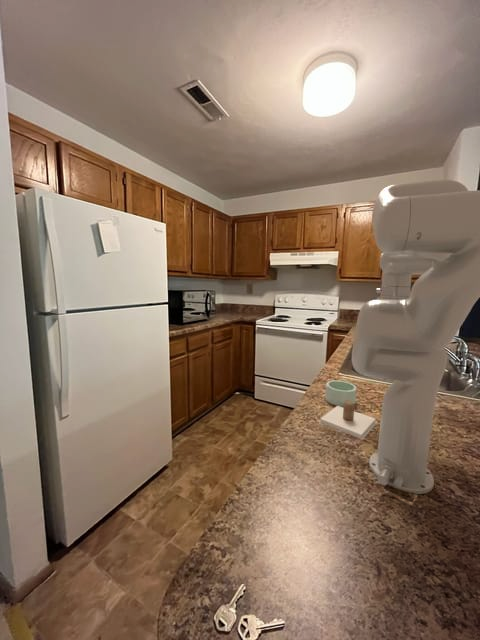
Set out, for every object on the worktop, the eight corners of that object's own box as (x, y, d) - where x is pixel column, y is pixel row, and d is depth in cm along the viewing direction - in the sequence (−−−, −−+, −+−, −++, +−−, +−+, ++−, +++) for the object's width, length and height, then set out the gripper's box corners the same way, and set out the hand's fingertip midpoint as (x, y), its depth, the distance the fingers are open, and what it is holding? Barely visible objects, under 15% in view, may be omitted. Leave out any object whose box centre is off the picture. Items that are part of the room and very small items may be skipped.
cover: (361, 438, 73) (362, 417, 72) (320, 421, 81) (321, 403, 81) (375, 421, 82) (377, 403, 81) (337, 408, 90) (338, 391, 89)
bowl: (348, 411, 90) (349, 394, 89) (320, 401, 96) (321, 385, 95) (359, 401, 97) (360, 385, 96) (332, 393, 104) (333, 378, 103)
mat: (362, 441, 73) (362, 439, 73) (317, 423, 82) (318, 421, 81) (377, 423, 82) (377, 421, 82) (336, 409, 91) (336, 407, 91)
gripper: (360, 291, 84) (356, 345, 86) (426, 294, 71) (419, 356, 74) (369, 291, 89) (365, 342, 91) (432, 293, 77) (425, 352, 79)
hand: (389, 348), depth 82 cm, fingers open, 9 cm apart
